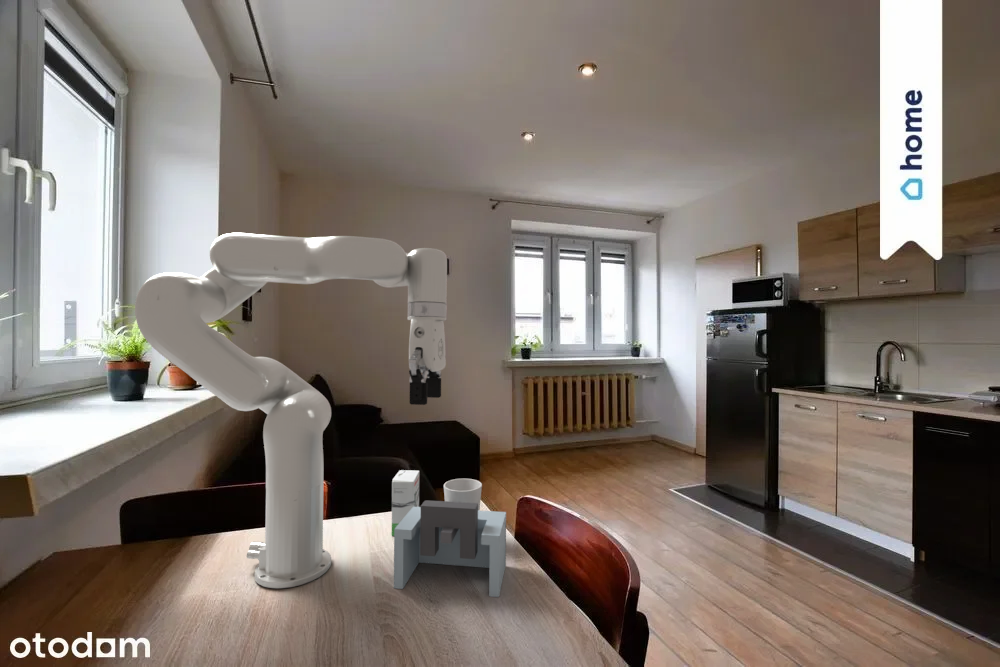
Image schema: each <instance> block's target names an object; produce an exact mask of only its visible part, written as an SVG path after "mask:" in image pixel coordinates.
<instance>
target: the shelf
mask: <svg viewBox="0 0 1000 667" xmlns="http://www.w3.org/2000/svg"><path fill="white" fill-rule="evenodd" d="M420 521H421V506H419V507H413V508H412V509H411V510H410V511H409V512H408V514H407V515H406V516H405V517H404V518H403V519H402V521H401V522H400V523H399V524H398V525H397V527H396V528H395V529H394V536H393V537H394V538H393V542H394V543H393V589H398V590H403V589H404V588H405V586H406V585H407V582H408V581H409V580H410V578H411V576H412V574H413V573H414V572H415V570H416V568H417V566H418V565H419V564H420V563H421V564H422V563H423V564H433V565H448V566H458V567H459V566H461V567H473V568H487V569H489V572H488V573H489V574H488V576H489V577H488V578H489V582H488V583H489V585H488V589H489V590H488V591H489V592H488V593H489V594H488V595H489V597H491V598H492V597H494V598H500V594H501V590H502V584H503V580H504V575H505V571H506V566H507V565H506V564H507V562H506V560H507V558H506V557H507V551H506V550H507V511H494V510H493V511H492V510H481V509H480V510H478V552H477V555H476V558H475V559H464V558H460V529H457V528H441V527H439V550H438V551H437V553H436V555H435V556H423V555H420Z"/></svg>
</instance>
